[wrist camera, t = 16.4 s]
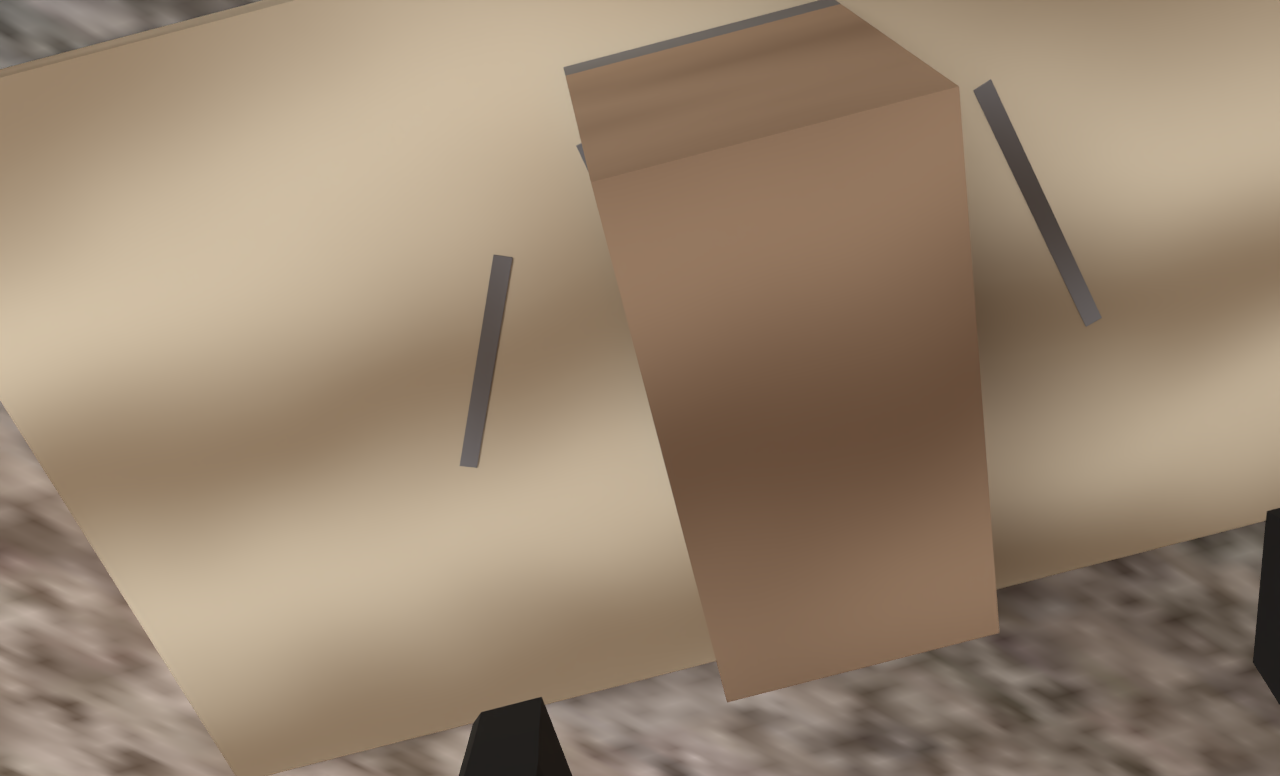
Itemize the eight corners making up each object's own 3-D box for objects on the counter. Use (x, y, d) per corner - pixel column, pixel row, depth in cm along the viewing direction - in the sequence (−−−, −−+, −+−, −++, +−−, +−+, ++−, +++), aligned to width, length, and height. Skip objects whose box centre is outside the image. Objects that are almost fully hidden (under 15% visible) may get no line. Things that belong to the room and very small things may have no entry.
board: (1366, 465, 23) (1394, 488, 22) (246, 751, 23) (239, 783, 22) (1483, -321, 16) (1531, -325, 15) (-145, 107, 16) (-175, 123, 15)
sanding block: (888, 443, 20) (999, 632, 16) (675, 498, 20) (726, 701, 16) (831, -3, 16) (959, 86, 12) (563, 67, 16) (590, 183, 12)
